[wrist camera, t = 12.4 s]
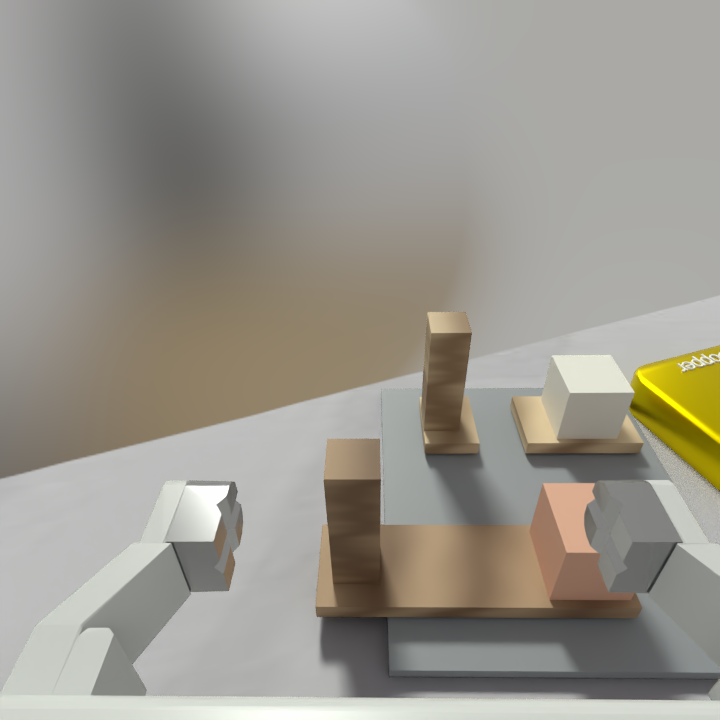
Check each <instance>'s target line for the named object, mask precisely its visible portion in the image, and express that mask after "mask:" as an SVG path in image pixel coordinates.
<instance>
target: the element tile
mask: <svg viewBox="0 0 720 720" xmlns="http://www.w3.org/2000/svg"><path fill="white" fill-rule="evenodd" d="M630 386H631V387H632V389H633V391H634V392H635V393H634V396H633V399H632V401H631V404H630V406H629V411H630V412H631V414H632V415H633V416H634V417H635V418H636V419H638V420H639V421H640V422H641V423H642V424H643V425H645V426H646V427H647V428H648V429H649V430H650V431H651V432H653V433H654V434H655V435H656V436H657V437H658V438H659V439H661V440H662V441H663V442H664V443H665V444H666V445H667V446H669V447H670V448H671V449H672V450H673V451H674V452H676V453H677V454H678V455H679V456H680V457H681V458H682V459H684V460H685V461H686V462H687V463H688V464H689V465H690V466H692V467H693V468H694V469H695V470H696V471H697V472H698V473H700V474H701V475H702V476H703V477H704V478H705V479H707V480H708V481H709V482H710V483H711V484H712V485H713V486H715V487H716V488H717V489H718V490H719V491H720V345H719V346H716V347H712V348H708V349H704V350H700V351H696V352H692V353H689V354H685V355H681V356H677V357H673V358H669V359H666V360H662V361H658V362H654V363H650V364H646V365H643V366H641V367H639V368H638V369H637V370H636V371H635V373H634V376H633V379H632V381H631V384H630Z"/></svg>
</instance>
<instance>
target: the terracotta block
mask: <svg viewBox="0 0 720 720" xmlns="http://www.w3.org/2000/svg"><path fill="white" fill-rule="evenodd" d="M594 485H595V483H543V484H542V488H541V492H540V495H539V499H538V502H537V506H536V509H535V513H534V516H533V520H532V523H531V527H530V530H529V532H530V535H531V539H532V542H533V546H534V549H535V552H536V556H537V559H538V563H539V566H540V570H541V573H542V577H543V580H544V583H545V587H546V590H547V594H548V597H549V600H631V599H632V597H633V595H634V594H635V593H617V592H608V590H607V587H606V585H605V582H604V580H603V577H602V575H601V572H600V570H599V567H598V565H597V564H598V561H599V558H600V556H601V555H600V554H599V553H598V552H597V551H595V550H594V549H593V548H592V547H591V546H590V544H589V542H588V539H587V536H586V532H585V527H584V513H585V510H586V507H587V504H588V503H590V502H591V501H593V500H594V499H595V497H594V495H593V492H592V490H593V488H594Z"/></svg>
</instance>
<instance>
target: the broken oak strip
mask: <svg viewBox="0 0 720 720" xmlns="http://www.w3.org/2000/svg"><path fill="white" fill-rule="evenodd" d="M471 335H472V332H471V329H470V325H469V322H468V318H467V315H466V312H428V313H427V327H426V343H425V357H424V371H423V386H422V397H420V400H419V410H420V419H421V427H422V436H423V444H424V453H425V454H469V453H478V450H479V444H480V443H479V439H478V434H477V430H476V426H475V422H474V418H473V413H472V409H471V405H470V401H469V397H463V396H464V388H465V381H466V373H467V365H468V357H469V350H470V342H471ZM541 397H542V396H512V399H511V404H510V408H511V411H512V414H513V417H514V420H515V423H516V426H517V429H518V432H519V435H520V438H521V441H522V444H523V447H524V450H525V453H640V451H641V449H642V446H643V444H644V442H643V440H642V439H641V437H640V435H639V434H638V432H637V430H636V429H635V427H634V425H633V424H632V422H631V420H630V419H629V417H628V415H627V414H626V417H625V420H624V422H623V425H622V427H621V430H620V433H619V435H618V438H617V439H557V438H556V436H555V433H554V431H553V429H552V426H551V424H550V421H549V419H548V416H547V414H546V411H545V409H544V407H543V404H542V402H541Z"/></svg>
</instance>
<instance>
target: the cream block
mask: <svg viewBox="0 0 720 720" xmlns="http://www.w3.org/2000/svg"><path fill="white" fill-rule="evenodd" d="M634 393H635V392H634V391H633V389H632V387H631V386H630V384H629V383H628V381H627V380H626V378H625V377H624V375H623V373H622V372H621V370H620V369H619V367H618V366H617V364H616V363H615V361H614V359H613V358H612V356H611V355H552V356H551V360H550V364H549V368H548V373H547V377H546V381H545V385H544V389H543V393H542V397H541V402H542V404H543V407H544V409H545V411H546V414H547V416H548V419H549V421H550V424H551V426H552V429H553V431H554V433H555V436H556V438H557V439H617V438H618V435H619V433H620V430H621V427H622V425H623V422H624V420H625V417H626V414H627V412H628V409H629V406H630V404H631V401H632V399H633V396H634Z"/></svg>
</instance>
